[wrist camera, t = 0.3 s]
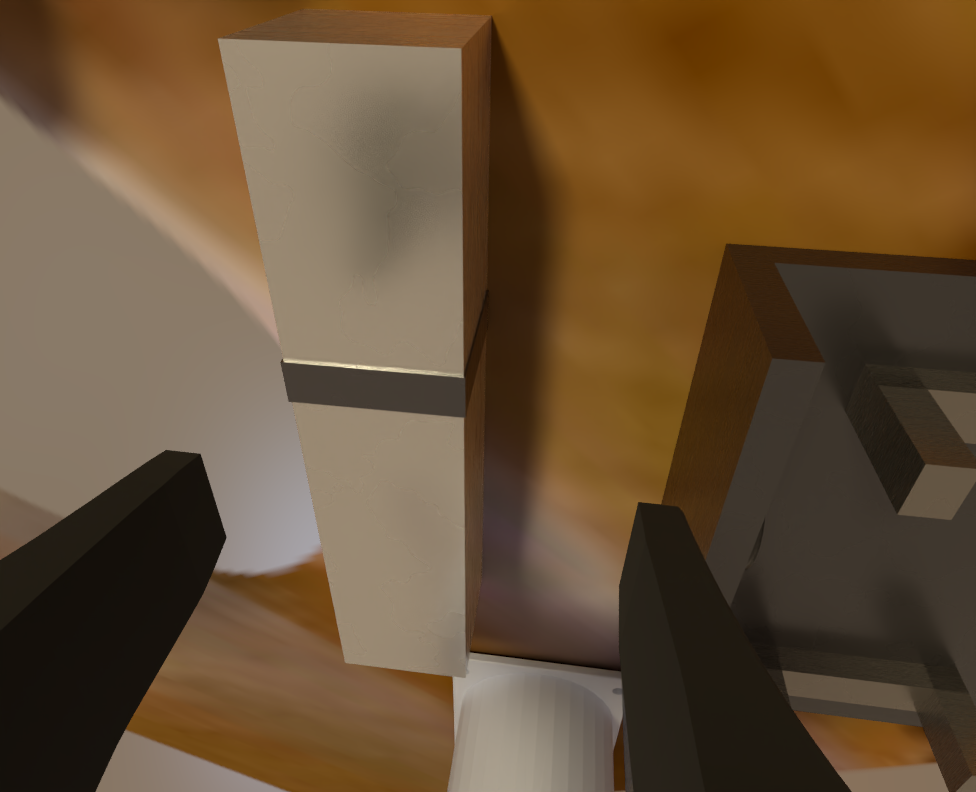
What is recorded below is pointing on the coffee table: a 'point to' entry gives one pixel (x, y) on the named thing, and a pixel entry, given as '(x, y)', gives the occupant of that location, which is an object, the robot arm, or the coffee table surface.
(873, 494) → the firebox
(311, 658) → the coffee table surface
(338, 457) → the cream rectangular block
